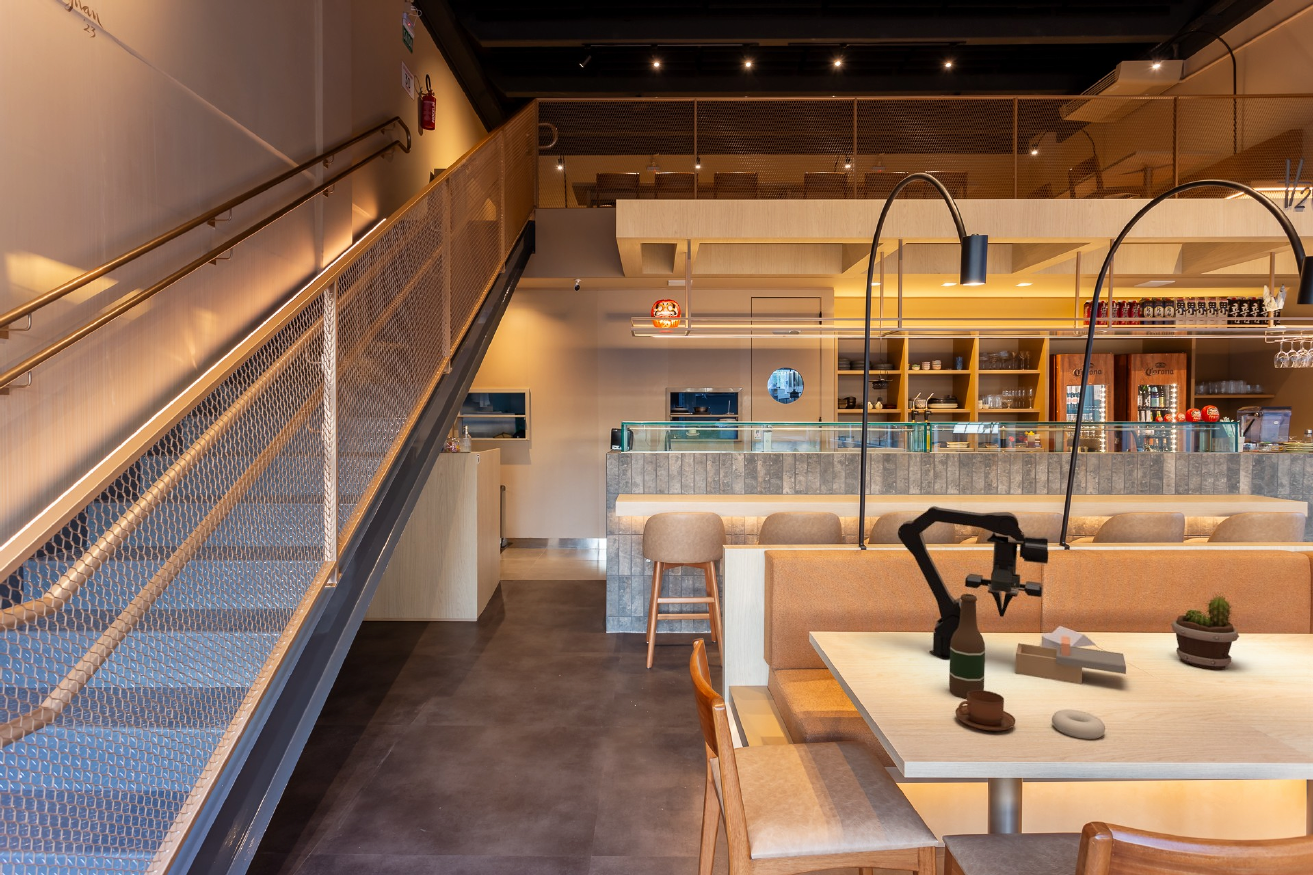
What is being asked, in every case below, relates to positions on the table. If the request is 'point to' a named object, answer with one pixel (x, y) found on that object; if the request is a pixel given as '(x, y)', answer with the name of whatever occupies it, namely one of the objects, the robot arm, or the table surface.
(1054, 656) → the base
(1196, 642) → the flowerpot
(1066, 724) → the donut
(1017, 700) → the table surface
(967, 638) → the beer bottle
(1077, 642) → the wedge on round base
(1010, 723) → the cup and saucer
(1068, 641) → the lid
